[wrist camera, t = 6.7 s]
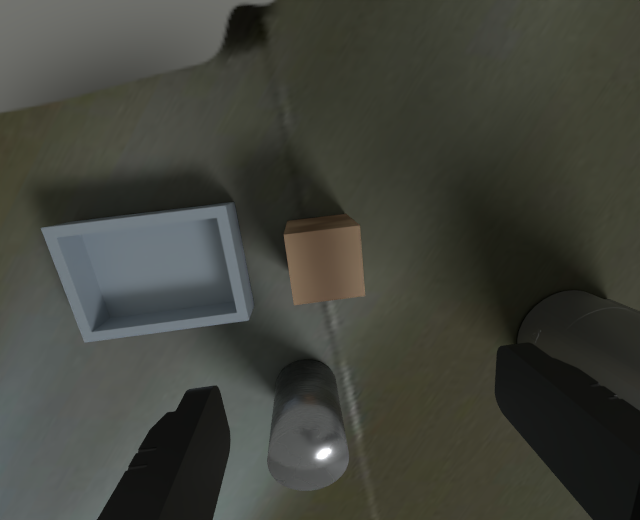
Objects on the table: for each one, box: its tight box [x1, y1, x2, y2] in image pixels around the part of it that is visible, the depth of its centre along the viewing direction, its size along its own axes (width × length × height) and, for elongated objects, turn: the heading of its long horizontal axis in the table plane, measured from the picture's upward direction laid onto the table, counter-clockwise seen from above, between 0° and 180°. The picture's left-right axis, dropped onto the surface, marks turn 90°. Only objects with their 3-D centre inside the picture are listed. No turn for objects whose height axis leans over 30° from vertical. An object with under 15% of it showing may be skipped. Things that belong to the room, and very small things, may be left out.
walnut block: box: [284, 214, 365, 305], centre depth 23 cm, size 5×5×6 cm
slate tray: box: [41, 202, 254, 342], centre depth 24 cm, size 13×9×3 cm
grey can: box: [267, 360, 349, 491], centre depth 26 cm, size 6×6×8 cm
